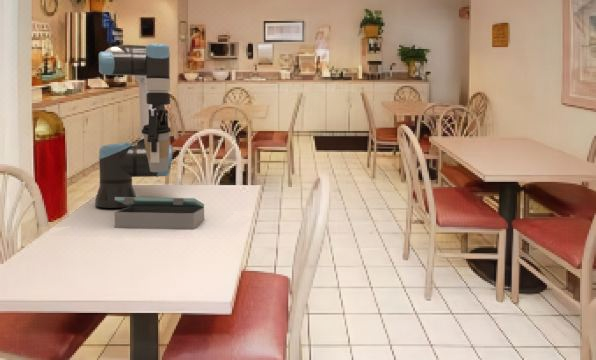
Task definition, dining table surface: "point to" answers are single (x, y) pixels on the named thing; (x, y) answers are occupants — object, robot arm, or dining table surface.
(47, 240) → the dining table surface
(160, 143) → the coffee cup
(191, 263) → the dining table surface
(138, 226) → the grey shallow open piece
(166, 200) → the cover
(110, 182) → the robot arm
